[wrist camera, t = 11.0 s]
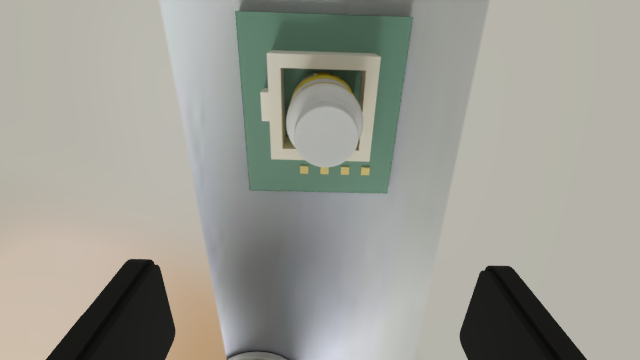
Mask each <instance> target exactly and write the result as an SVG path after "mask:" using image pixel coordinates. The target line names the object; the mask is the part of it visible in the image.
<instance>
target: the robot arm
mask: <svg viewBox="0 0 640 360" xmlns="http://www.w3.org/2000/svg"><path fill="white" fill-rule="evenodd" d="M174 337H175V326H174V322H173V318H172V314H171V310H170V306H169V302H168V298H167V294H166V291H165V286H164V282H163V278H162V274H161V270H160V267H159V266H158V265H155V264H154V262H153V261H152V260H146V259H130V260H128V261H127V262H126V263H125V264H124V265H123V266H122V268H121V269H120V270H119V271H118V272H117V274H116V275H115V276H114V277H113V279H112V280H111V281H110V282H109V283H108V285H107V286H106V287H105V288H104V290H103V291H102V292H101V293H100V295H99V296H98V297H97V298H96V299H95V301H94V302H93V303H92V304H91V306H90V307H89V308H88V309H87V311H86V312H85V313H84V314H83V315H82V316H81V317H80V318H79V319H78V321H77V322H76V323H75V324H74V326H73V327H72V328H71V329H70V331H69V332H68V333H67V334H66V336H65V337H64V338H63V339H62V340H61V342H60V343H59V344H58V345H57V347H56V348H55V349H54V350H53V351H52V353H51V354H50V355H49V356H48V358H47V359H46V360H165V358H166V356H167V354H168V352H169V350H170V347H171V345H172V343H173V340H174ZM460 341H461V345H462V347H463V349H464V352H465V354H466V356H467V358H468V360H587V359H586V358H585V357H584V355H583V354H582V353H581V352H580V350H579V349H578V348H577V347H576V346H575V344H574V343H573V342H572V341H571V339H570V338H569V337H568V336H567V335H566V333H565V332H564V331H563V330H562V328H561V327H560V326H559V325H558V323H557V322H556V321H555V320H554V318H553V317H552V316H551V315H550V313H549V312H548V311H547V310H546V309H545V307H544V306H543V305H542V304H541V302H540V301H539V300H538V299H537V298H536V296H535V295H534V294H533V293H532V291H531V290H530V289H529V288H528V287H527V285H526V284H525V283H524V281H523V280H522V279H521V278H520V277H519V275H518V274H517V273H516V272H515V270H514V269H512V267H509V266H488V267H486V269H485V271H481V272H480V274H479V277H478V280H477V283H476V286H475V289H474V292H473V295H472V298H471V301H470V304H469V307H468V310H467V313H466V316H465V319H464V322H463V325H462V328H461V331H460ZM228 360H287V359H286V358H283V357H281V356H279V355H276V354H272V353H267V352H246V353H242V354H238V355H235V356H233V357H231V358H229V359H228Z"/></svg>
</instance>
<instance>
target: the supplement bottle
mask: <svg viewBox="0 0 640 360" xmlns="http://www.w3.org/2000/svg"><path fill="white" fill-rule="evenodd" d="M286 128H287V133H288V136H289V139H290V140H291V142H292V144H293V145H294V147H295V148H296V149H297V151H298V152H299V154H300V155H301V156H302V158H303V159H304V160H306V161H307V162H309V163H310V164H312V165H315V166H318V167H334V166H337V165H340V164H342V163H343V162H345V161H346V160H348V159H349V158H350V157H351V156H352V154H353V153H354V151H355V149H356V147H357V144H358V140H359V138H360V136H361V133H362V130H363V114H362V110H361V107H360V105H359V103H358V101H357V99H356V98H355V96H354V94H353V92H352V91H351V89H350V87H349V86H348V84H347V83H346V82H345V81H344V80H343V79H342V78H341V77H339V76H338V75H336V74H334V73H331V72H324V71H320V72H314V73H311V74H309V75H307V76H306V77H304V78H303V79H302V80H301V81H300V82H299V83H298V84H297V86H296V87H295V90H294V92H293V95H292V98H291V102H290V105H289V108H288V112H287V117H286Z"/></svg>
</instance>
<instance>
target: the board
mask: <svg viewBox="0 0 640 360" xmlns="http://www.w3.org/2000/svg"><path fill="white" fill-rule="evenodd" d="M235 14H236V26H237V38H238V51H239V63H240V76H241V88H242V100H243V113H244V125H245V138H246V150H247V162H248V175H249V187H250V190H259V191H302V192H346V193H387V191H388V184H389V177H390V171H391V164H392V157H393V150H394V143H395V136H396V129H397V122H398V115H399V109H400V102H401V95H402V88H403V81H404V74H405V67H406V60H407V53H408V46H409V40H410V33H411V26H412V19H413V17H394V16H365V15H336V14H307V13H278V12H248V11H235ZM320 71H324V72H331V73H334V74H336V75H338V76H339V77H341V78H342V79H343V80H344V81H345V82H346V83H347V84H348V86H349V87H350V89H351V91H352V92H353V94H354V96H355V98H356V99H357V101H358V103H359V105H360V107H361V110H362V114H363V130H362V133H361V136H360V138H359V140H358V144H357V147H356V149H355V151H354V153H353V154H352V156H351V157H350V158H349V159H348V160H346V161H345V162H343V163H342V164H340V165H337V166H334V167H318V166H315V165H312V164H310V163H309V162H307V161H306V160H304V159H303V158H302V156H301V155H300V154H299V152H298V151H297V149H296V148H295V147H294V145H293V144H292V142H291V140H290V139H289V136H288V133H287V128H286V117H287V112H288V108H289V105H290V102H291V98H292V95H293V92H294V90H295V87H296V86H297V84H298V83H299V82H300V81H301V80H302V79H303V78H304V77H306V76H307V75H309V74H311V73H314V72H320Z"/></svg>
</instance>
